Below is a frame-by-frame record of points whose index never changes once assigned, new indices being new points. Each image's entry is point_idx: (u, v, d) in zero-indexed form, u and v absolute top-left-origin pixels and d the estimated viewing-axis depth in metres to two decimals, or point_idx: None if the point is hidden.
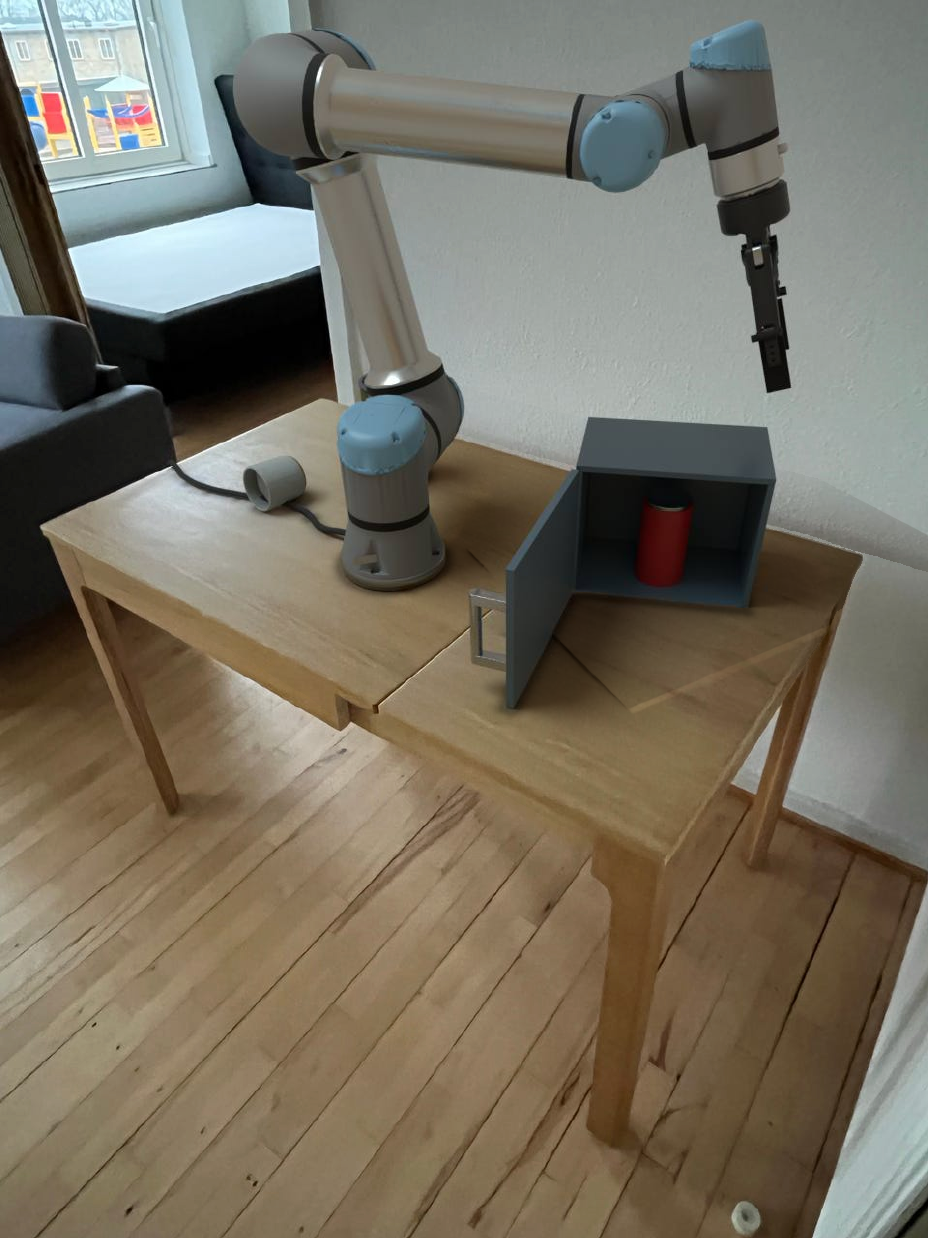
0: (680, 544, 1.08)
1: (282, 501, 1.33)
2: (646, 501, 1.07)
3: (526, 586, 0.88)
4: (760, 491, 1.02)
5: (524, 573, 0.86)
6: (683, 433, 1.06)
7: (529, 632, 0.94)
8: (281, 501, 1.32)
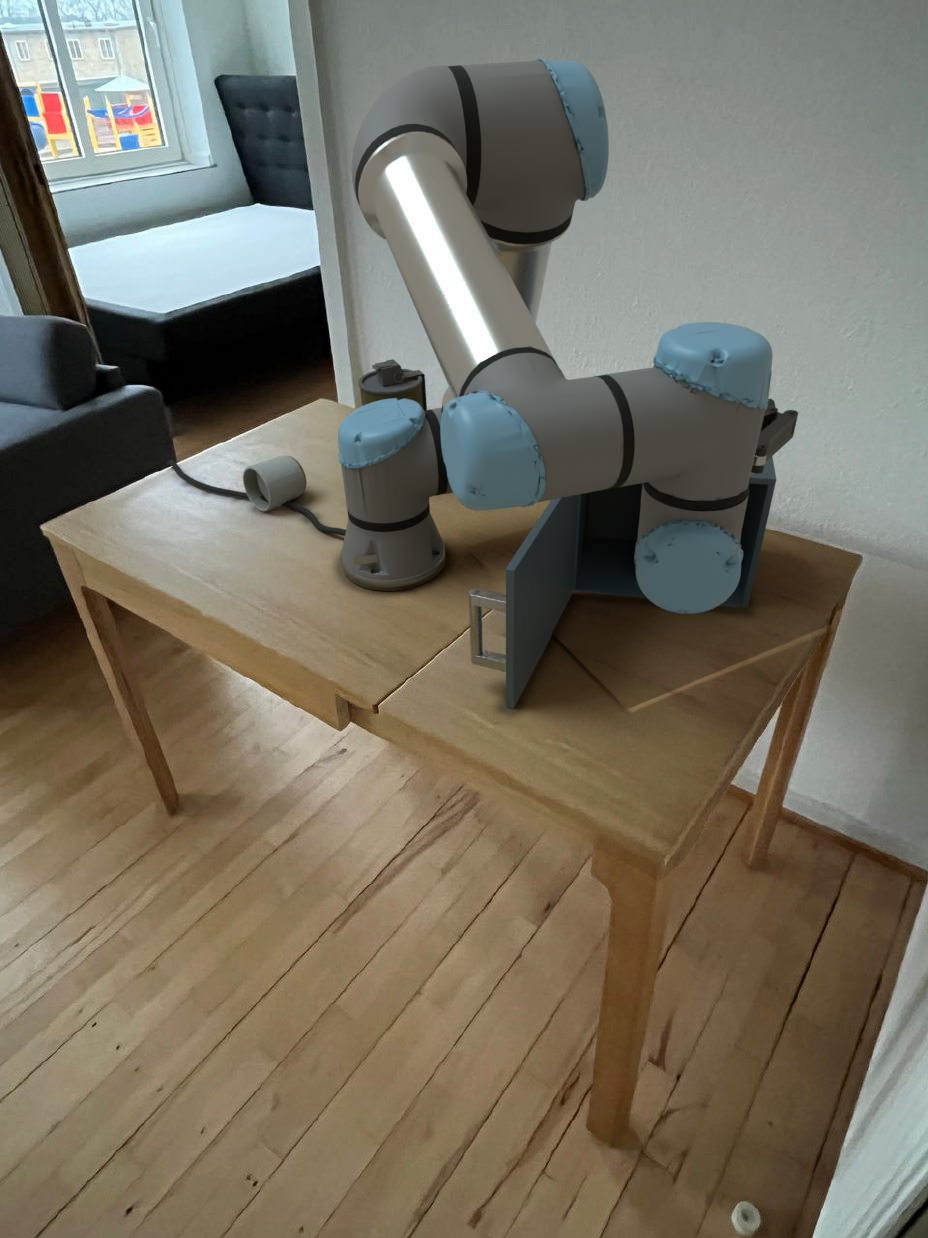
0: None
1: (282, 501, 1.33)
2: None
3: (526, 586, 0.88)
4: (760, 491, 1.02)
5: (524, 573, 0.86)
6: None
7: (529, 632, 0.94)
8: (281, 501, 1.32)
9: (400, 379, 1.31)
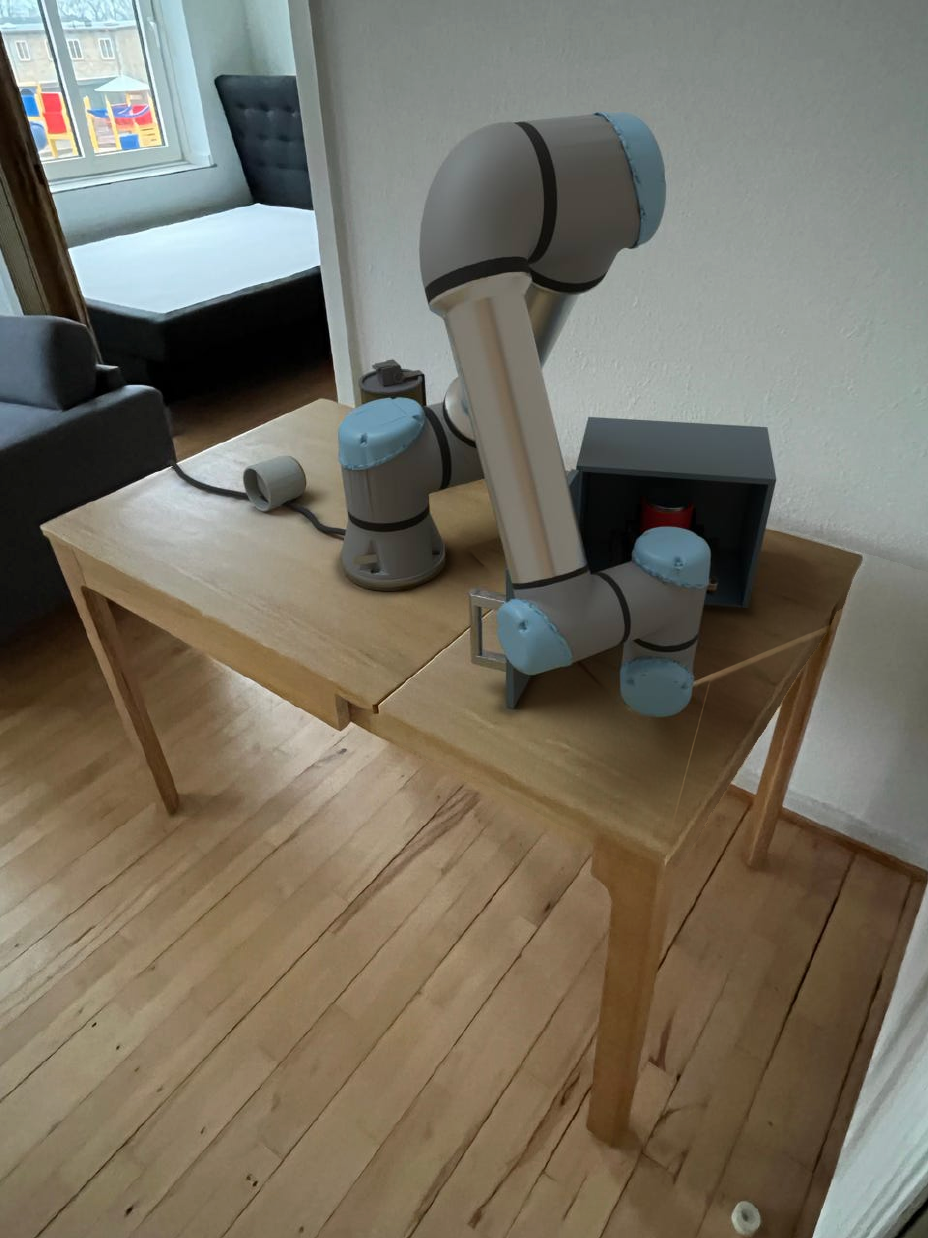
0: None
1: (282, 501, 1.33)
2: (646, 501, 1.07)
3: None
4: (760, 491, 1.02)
5: None
6: (683, 433, 1.06)
7: None
8: (281, 501, 1.32)
9: (400, 379, 1.31)
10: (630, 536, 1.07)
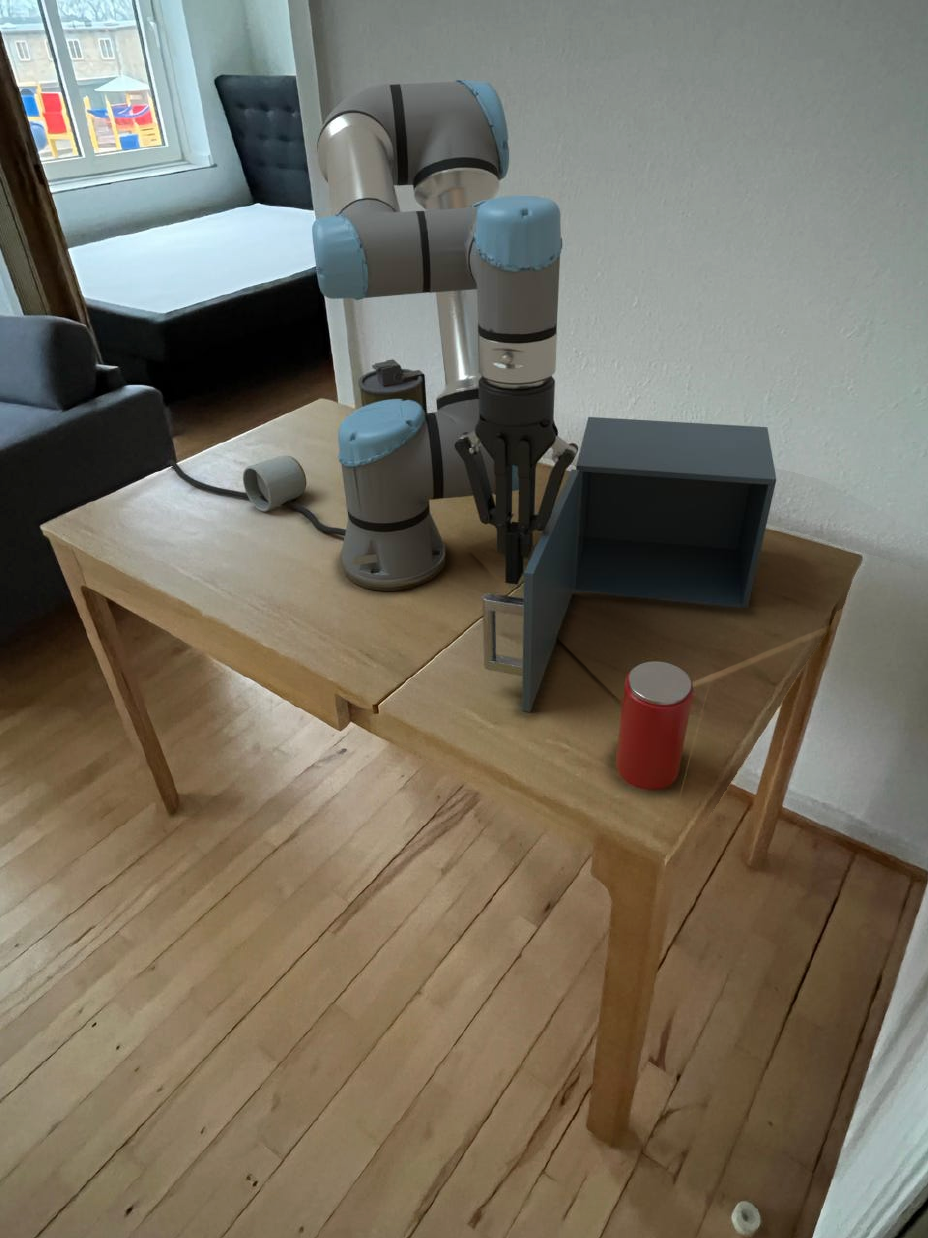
0: (662, 745, 0.80)
1: (282, 501, 1.33)
2: (628, 678, 0.80)
3: (541, 588, 0.87)
4: (760, 491, 1.02)
5: (540, 576, 0.86)
6: (683, 433, 1.06)
7: (542, 634, 0.93)
8: (281, 501, 1.32)
9: (400, 379, 1.31)
10: None
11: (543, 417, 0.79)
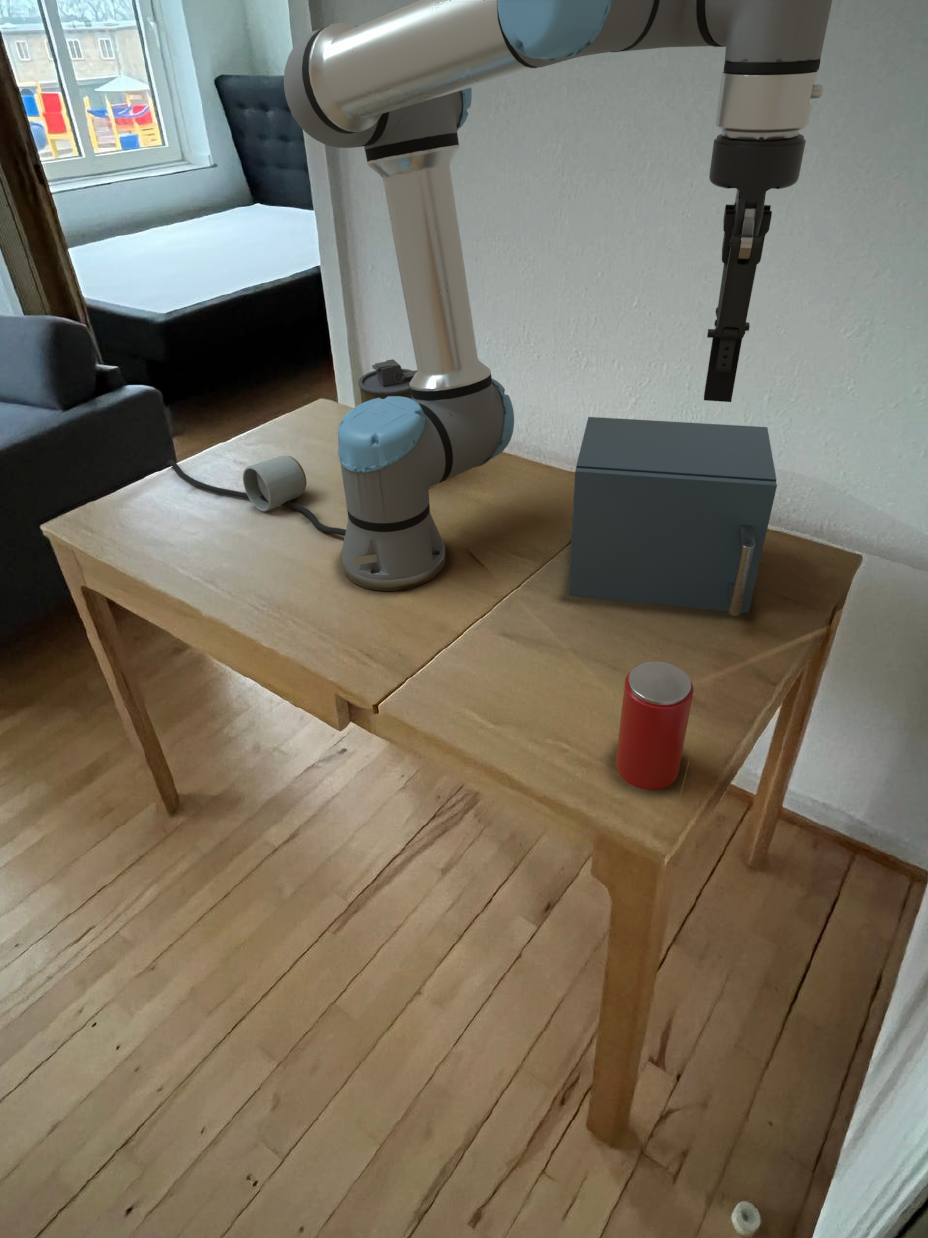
0: (662, 745, 0.80)
1: (282, 501, 1.33)
2: (628, 678, 0.80)
3: None
4: None
5: None
6: (683, 433, 1.06)
7: None
8: (281, 501, 1.32)
9: (400, 379, 1.31)
10: (718, 316, 0.77)
11: None
